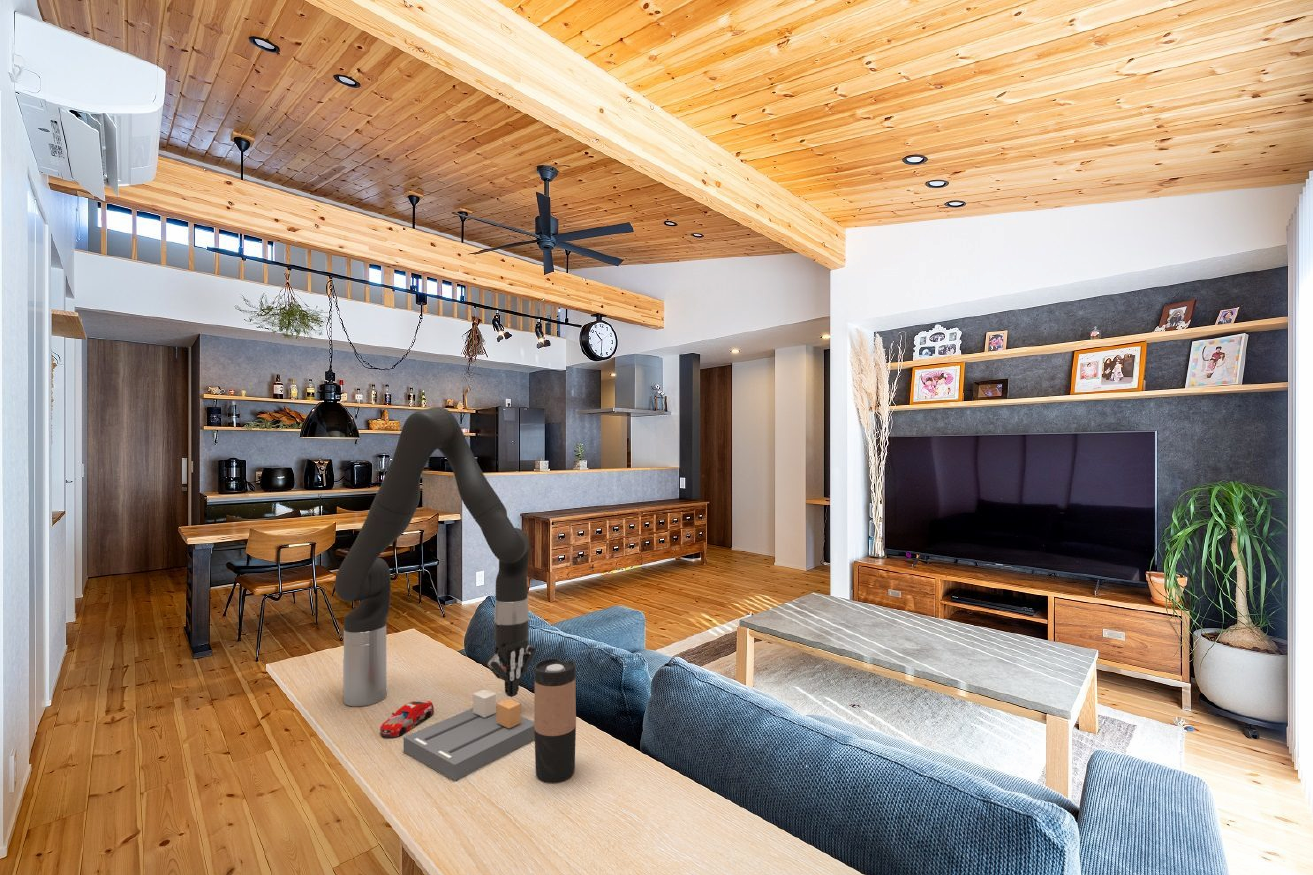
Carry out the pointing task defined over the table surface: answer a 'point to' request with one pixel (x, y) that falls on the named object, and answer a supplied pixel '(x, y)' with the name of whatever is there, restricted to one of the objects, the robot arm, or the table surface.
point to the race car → (407, 718)
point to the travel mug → (555, 720)
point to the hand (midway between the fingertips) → (511, 695)
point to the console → (466, 743)
